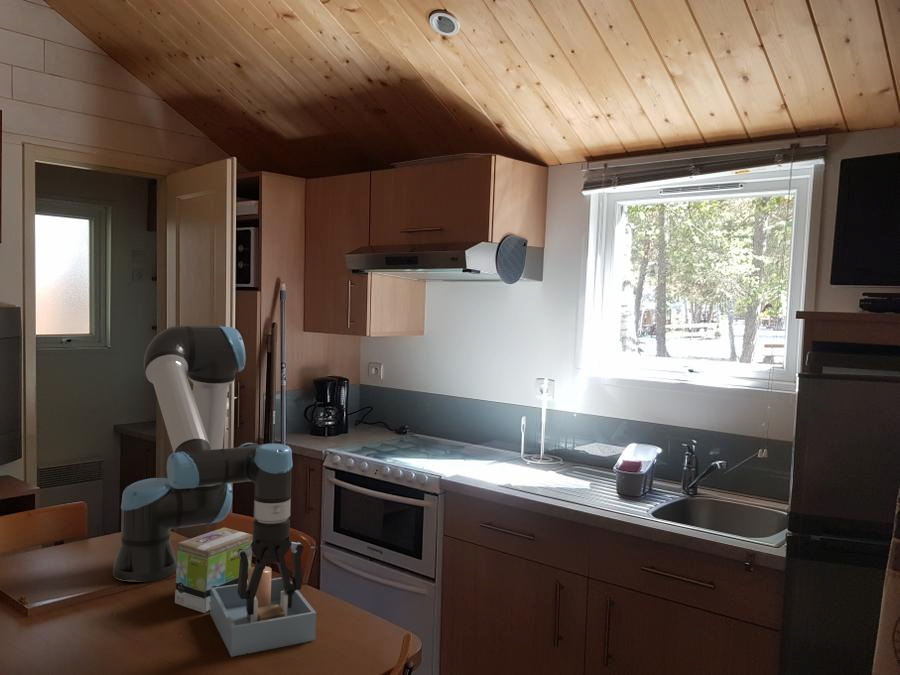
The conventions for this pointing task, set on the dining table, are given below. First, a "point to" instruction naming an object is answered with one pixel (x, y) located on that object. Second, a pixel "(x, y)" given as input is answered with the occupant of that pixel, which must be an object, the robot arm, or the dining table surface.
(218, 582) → the tea box
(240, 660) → the dining table surface
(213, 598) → the tote
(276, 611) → the block
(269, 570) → the peach orange cylinder
